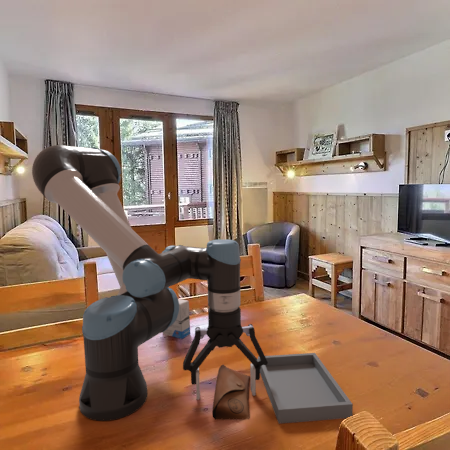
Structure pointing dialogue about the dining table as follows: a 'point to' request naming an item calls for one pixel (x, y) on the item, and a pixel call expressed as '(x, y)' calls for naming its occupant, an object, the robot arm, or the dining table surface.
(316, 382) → the holder
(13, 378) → the dining table surface
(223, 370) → the sunglasses case
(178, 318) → the ink box
